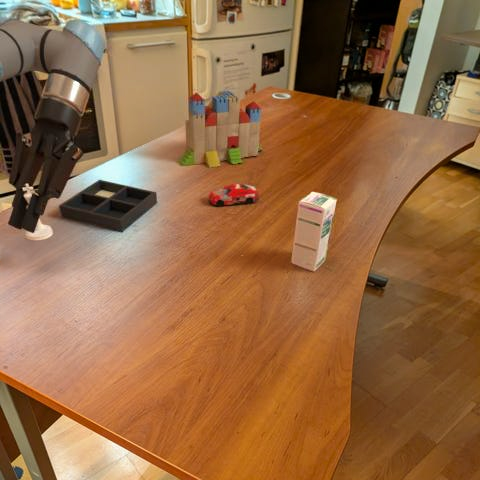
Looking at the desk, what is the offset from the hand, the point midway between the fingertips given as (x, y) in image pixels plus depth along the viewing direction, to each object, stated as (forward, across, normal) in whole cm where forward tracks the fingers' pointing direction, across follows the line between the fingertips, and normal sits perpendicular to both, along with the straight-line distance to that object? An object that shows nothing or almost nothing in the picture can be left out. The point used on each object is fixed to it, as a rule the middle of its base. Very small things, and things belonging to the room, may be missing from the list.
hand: (21, 228), depth 83 cm
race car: (-27, -23, -41) cm, 54 cm away
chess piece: (0, 0, -5) cm, 5 cm away
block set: (-46, -9, -60) cm, 76 cm away
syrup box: (-13, -48, -27) cm, 57 cm away
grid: (-14, +2, -28) cm, 32 cm away
